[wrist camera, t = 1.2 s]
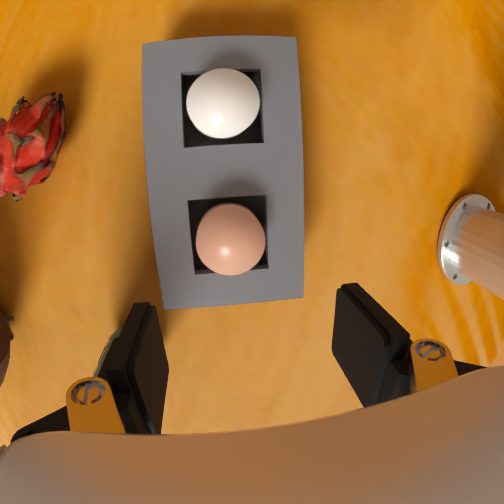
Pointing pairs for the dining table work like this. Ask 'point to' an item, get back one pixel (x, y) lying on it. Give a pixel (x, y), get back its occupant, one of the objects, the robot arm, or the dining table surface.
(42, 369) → the dining table surface
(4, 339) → the alarm clock
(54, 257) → the dining table surface
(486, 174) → the dining table surface
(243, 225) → the brown egg
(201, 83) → the white rounded piece
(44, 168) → the dragon fruit
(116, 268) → the dining table surface
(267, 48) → the grey rectangular block
